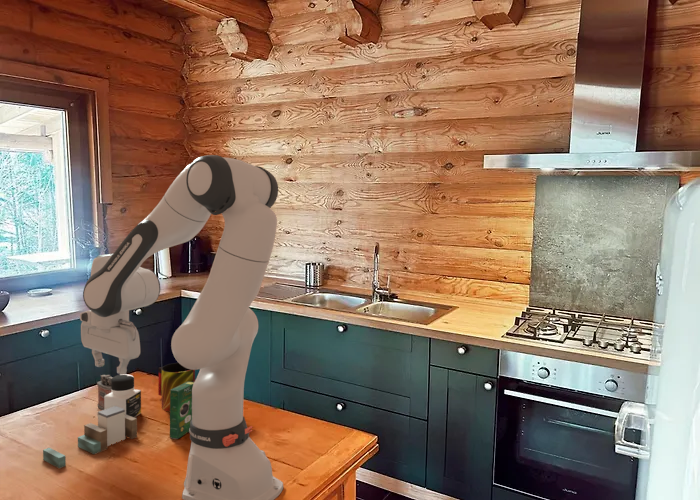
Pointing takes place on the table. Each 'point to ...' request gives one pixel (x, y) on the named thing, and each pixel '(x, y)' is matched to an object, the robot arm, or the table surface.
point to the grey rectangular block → (113, 423)
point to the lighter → (103, 389)
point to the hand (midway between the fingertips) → (110, 369)
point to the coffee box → (180, 409)
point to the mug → (172, 381)
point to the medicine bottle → (124, 395)
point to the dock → (91, 441)
